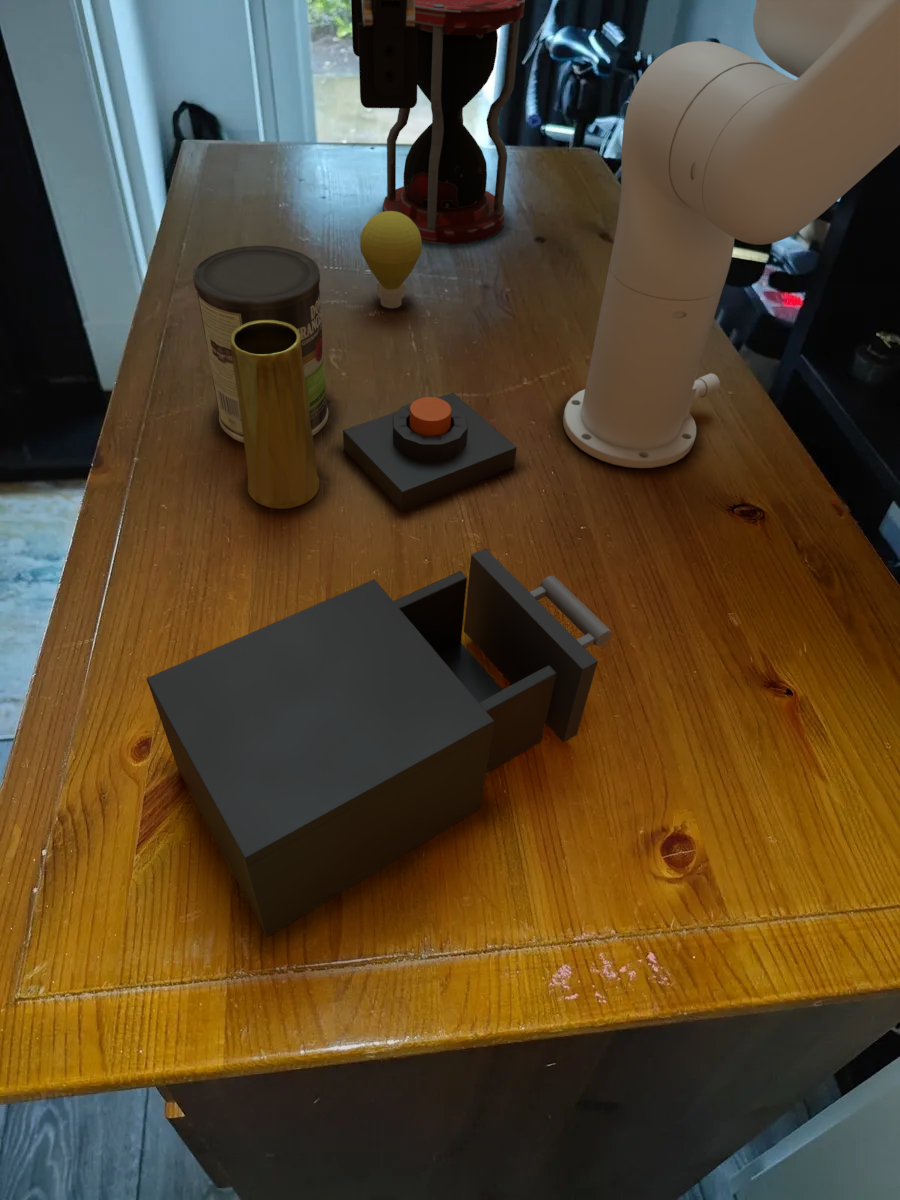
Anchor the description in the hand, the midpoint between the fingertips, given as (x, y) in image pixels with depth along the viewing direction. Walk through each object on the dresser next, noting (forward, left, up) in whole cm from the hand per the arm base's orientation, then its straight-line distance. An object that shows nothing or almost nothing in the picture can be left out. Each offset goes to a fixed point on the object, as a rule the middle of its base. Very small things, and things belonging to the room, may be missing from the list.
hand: (382, 79), depth 51 cm
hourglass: (-35, -43, -31) cm, 63 cm away
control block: (-5, -1, -31) cm, 31 cm away
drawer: (+8, +24, -30) cm, 40 cm away
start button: (-5, -1, -27) cm, 28 cm away
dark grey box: (+19, +24, -31) cm, 44 cm away
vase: (+8, -4, -31) cm, 33 cm away
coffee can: (+4, -14, -31) cm, 34 cm away
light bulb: (-17, -27, -31) cm, 44 cm away
